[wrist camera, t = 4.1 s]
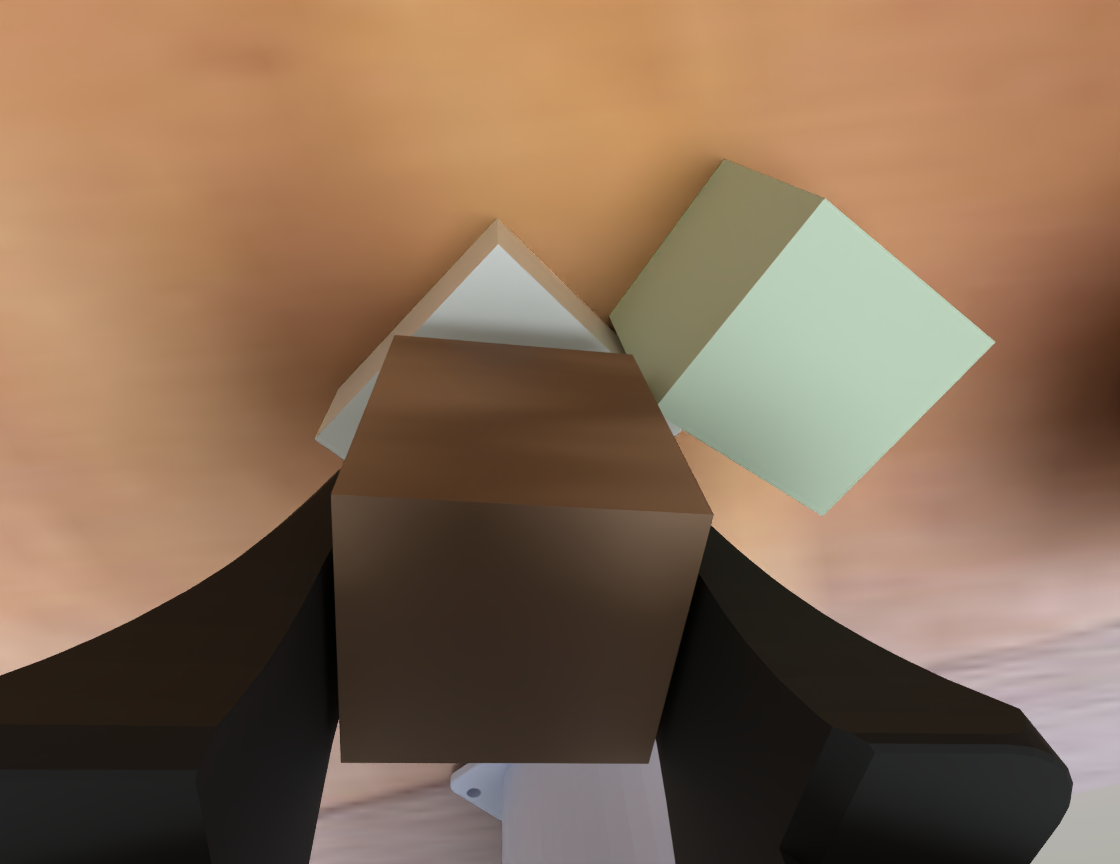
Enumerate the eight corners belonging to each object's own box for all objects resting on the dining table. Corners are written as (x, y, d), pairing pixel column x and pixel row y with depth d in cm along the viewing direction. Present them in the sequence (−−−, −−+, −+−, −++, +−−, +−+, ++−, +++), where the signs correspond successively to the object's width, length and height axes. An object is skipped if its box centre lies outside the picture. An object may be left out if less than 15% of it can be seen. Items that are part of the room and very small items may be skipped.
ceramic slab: (659, 374, 19) (687, 425, 16) (507, 511, 20) (510, 577, 18) (497, 215, 16) (498, 243, 14) (340, 384, 18) (314, 439, 15)
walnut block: (632, 354, 13) (713, 515, 8) (599, 544, 15) (648, 763, 10) (394, 335, 13) (330, 494, 8) (392, 534, 15) (341, 762, 10)
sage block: (855, 265, 17) (995, 341, 12) (738, 401, 19) (822, 516, 14) (723, 158, 16) (824, 198, 11) (608, 315, 17) (652, 410, 12)
